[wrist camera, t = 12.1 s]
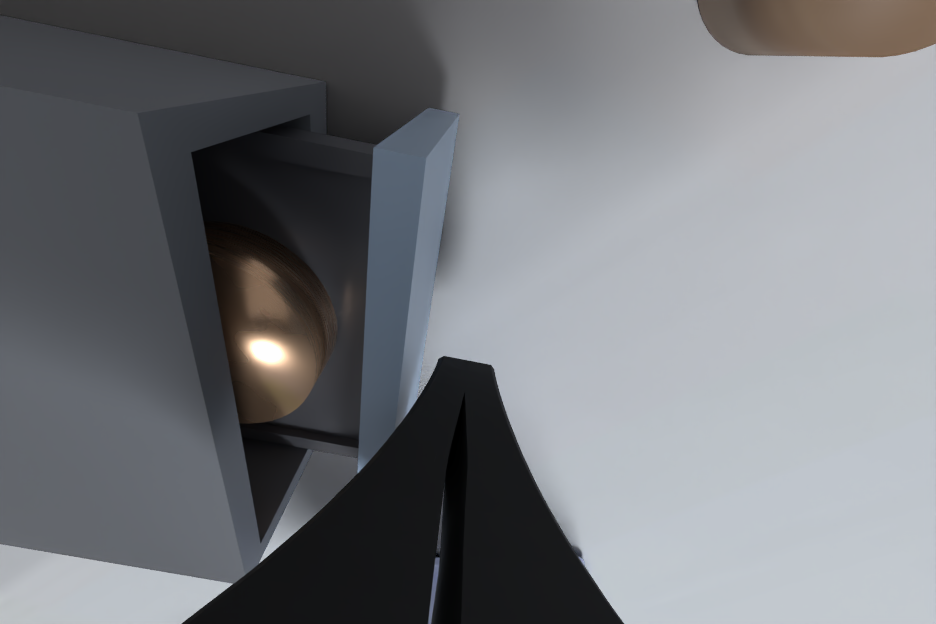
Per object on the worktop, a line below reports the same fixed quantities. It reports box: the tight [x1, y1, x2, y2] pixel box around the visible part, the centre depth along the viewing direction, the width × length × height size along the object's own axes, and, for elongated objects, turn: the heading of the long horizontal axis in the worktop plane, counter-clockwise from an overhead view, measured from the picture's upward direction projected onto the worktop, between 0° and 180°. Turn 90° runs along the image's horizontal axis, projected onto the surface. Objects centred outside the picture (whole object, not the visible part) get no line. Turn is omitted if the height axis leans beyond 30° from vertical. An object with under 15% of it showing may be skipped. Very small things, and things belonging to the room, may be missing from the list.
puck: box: [203, 221, 338, 424], centre depth 11 cm, size 5×5×2 cm
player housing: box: [0, 15, 327, 584], centre depth 10 cm, size 11×12×6 cm
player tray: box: [191, 108, 459, 474], centre depth 10 cm, size 11×12×5 cm
